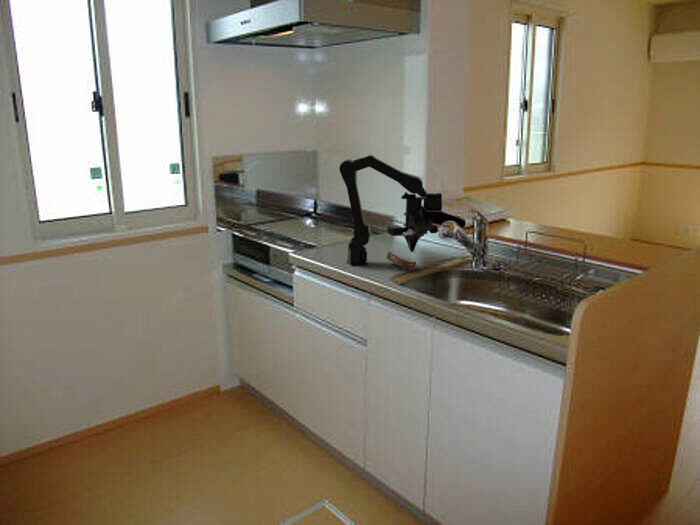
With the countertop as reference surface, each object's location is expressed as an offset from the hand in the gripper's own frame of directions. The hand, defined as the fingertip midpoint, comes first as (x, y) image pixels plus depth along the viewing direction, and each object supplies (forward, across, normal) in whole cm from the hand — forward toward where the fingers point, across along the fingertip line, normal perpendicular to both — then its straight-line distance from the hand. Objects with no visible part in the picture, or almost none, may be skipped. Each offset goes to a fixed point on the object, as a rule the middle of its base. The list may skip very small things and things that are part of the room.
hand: (411, 251), depth 206 cm
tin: (+4, 0, 0) cm, 4 cm away
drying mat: (+5, -4, 0) cm, 7 cm away
